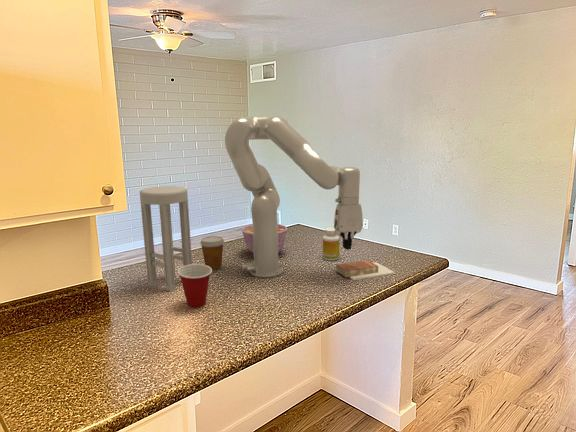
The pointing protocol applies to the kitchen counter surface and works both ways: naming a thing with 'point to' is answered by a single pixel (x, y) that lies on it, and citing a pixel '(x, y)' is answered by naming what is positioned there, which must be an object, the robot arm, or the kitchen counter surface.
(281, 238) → the bowl of food
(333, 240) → the supplement bottle
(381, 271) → the mat
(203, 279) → the plastic cup
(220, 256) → the disposable coffee cup
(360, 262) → the slab
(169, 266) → the stool
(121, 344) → the kitchen counter surface
